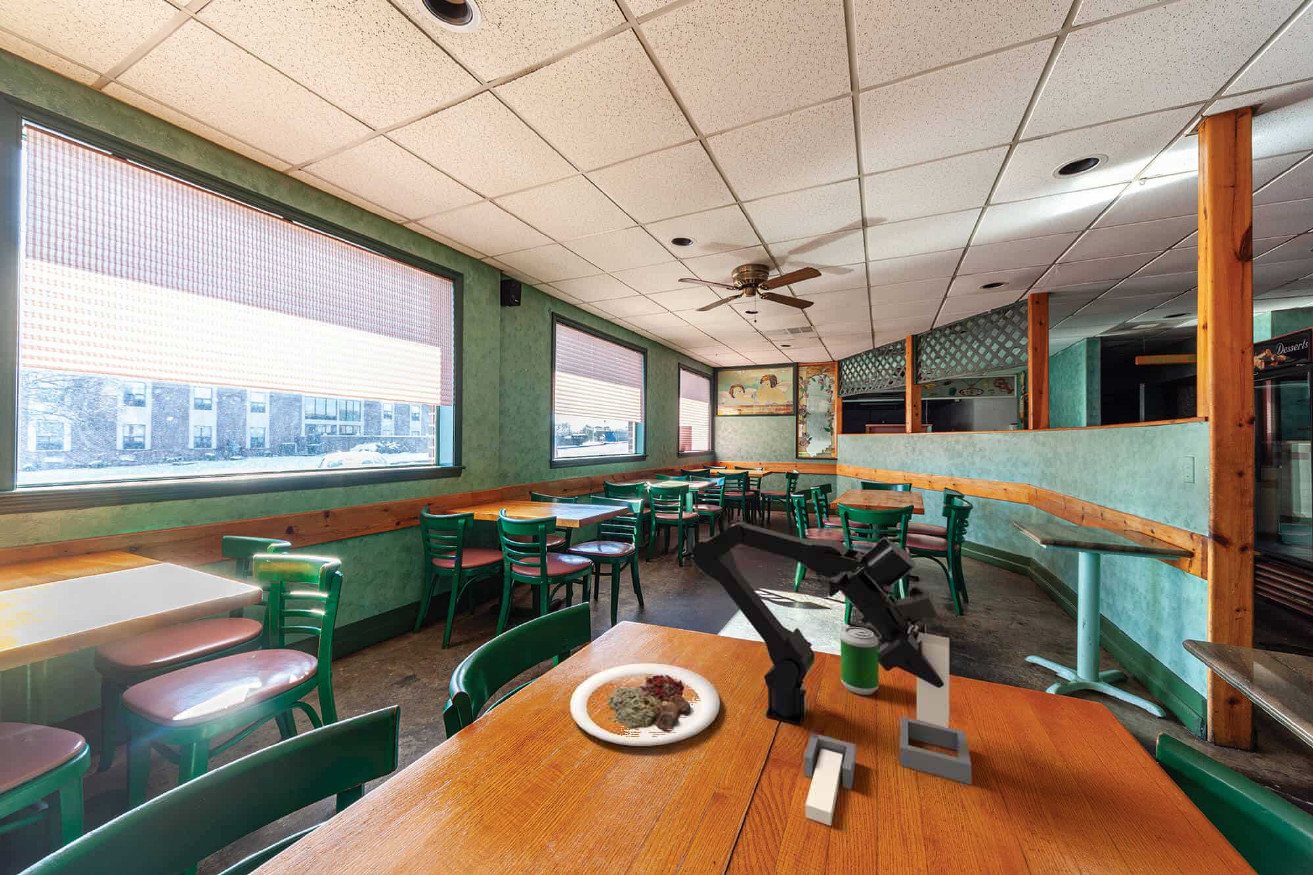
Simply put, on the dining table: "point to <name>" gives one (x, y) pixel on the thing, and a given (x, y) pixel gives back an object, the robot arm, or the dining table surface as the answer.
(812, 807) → the cap with slat
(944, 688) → the white rectangular block
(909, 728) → the grey square frame
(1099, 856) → the dining table surface
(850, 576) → the robot arm
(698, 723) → the plated food
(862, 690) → the soda can
